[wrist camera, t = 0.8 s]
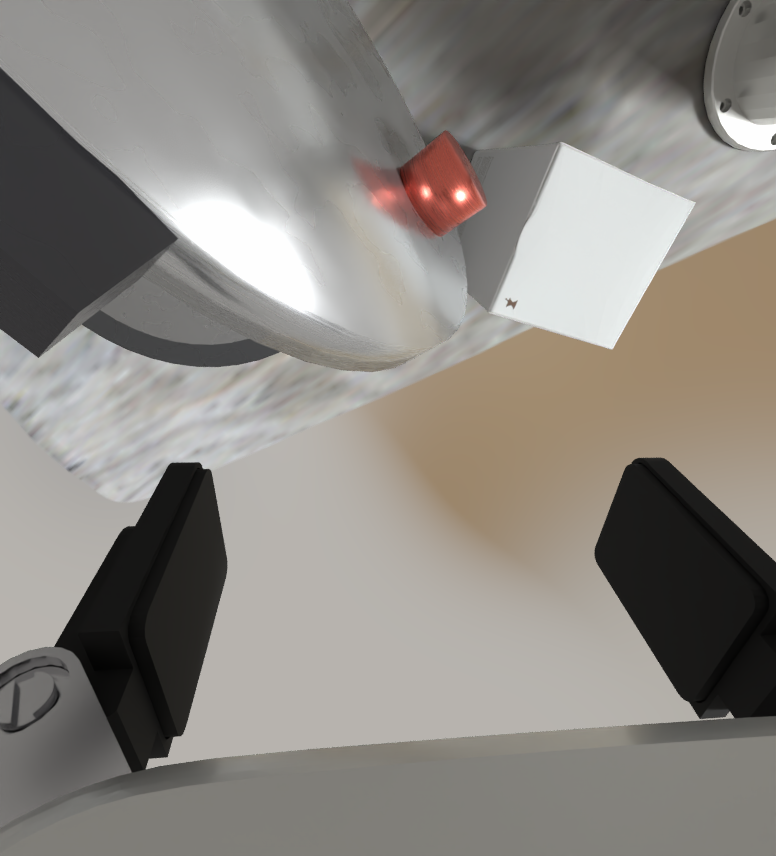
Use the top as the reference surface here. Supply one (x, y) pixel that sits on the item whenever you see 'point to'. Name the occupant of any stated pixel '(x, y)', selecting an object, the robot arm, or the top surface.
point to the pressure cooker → (171, 330)
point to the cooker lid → (225, 177)
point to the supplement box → (565, 240)
